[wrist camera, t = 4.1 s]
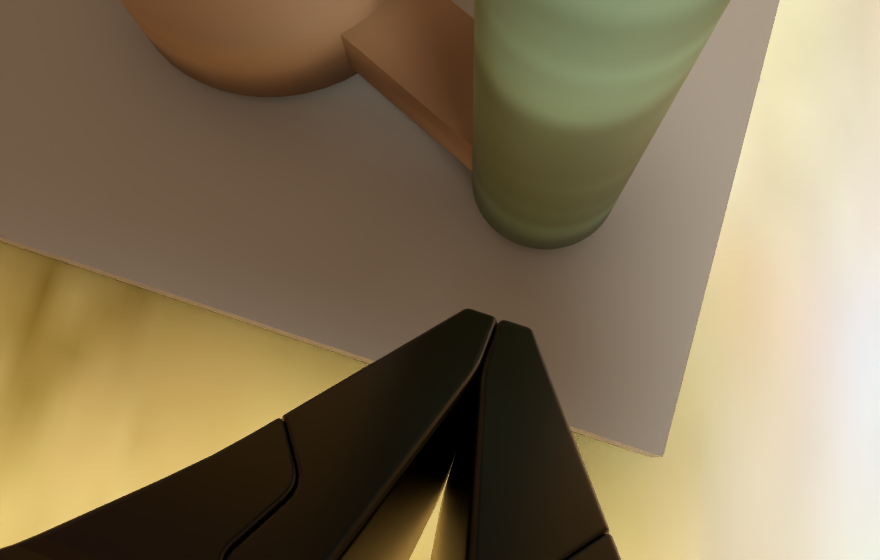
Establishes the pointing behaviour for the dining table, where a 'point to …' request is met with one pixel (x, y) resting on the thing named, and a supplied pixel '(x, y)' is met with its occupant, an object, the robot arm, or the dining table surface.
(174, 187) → the stand
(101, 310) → the dining table surface
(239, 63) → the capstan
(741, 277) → the dining table surface
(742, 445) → the dining table surface
